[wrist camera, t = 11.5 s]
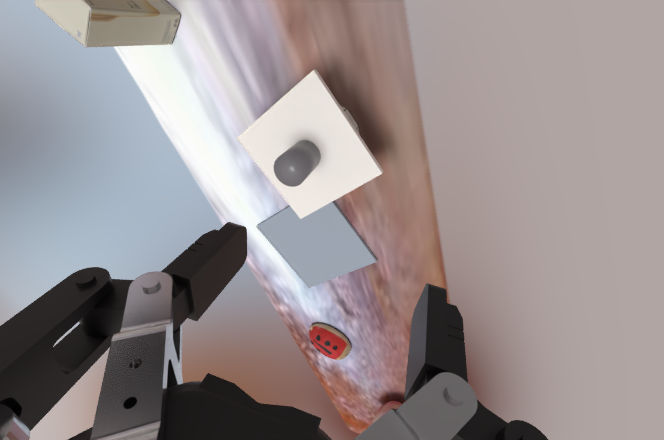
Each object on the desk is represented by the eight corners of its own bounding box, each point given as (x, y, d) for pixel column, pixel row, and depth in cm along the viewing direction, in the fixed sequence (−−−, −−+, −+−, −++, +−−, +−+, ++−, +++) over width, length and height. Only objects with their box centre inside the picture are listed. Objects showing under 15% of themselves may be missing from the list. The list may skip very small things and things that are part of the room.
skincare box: (182, 14, 39) (94, 9, 29) (172, 45, 41) (87, 50, 31) (139, -24, 38) (33, -42, 28) (132, 11, 40) (31, 5, 30)
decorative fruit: (402, 417, 71) (397, 468, 63) (371, 400, 71) (362, 448, 63) (426, 403, 66) (424, 456, 58) (393, 384, 66) (386, 434, 57)
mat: (258, 224, 53) (256, 226, 53) (322, 185, 46) (321, 187, 45) (309, 285, 57) (308, 288, 57) (377, 259, 50) (376, 261, 49)
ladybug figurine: (341, 355, 66) (336, 369, 63) (304, 329, 65) (297, 343, 62) (359, 342, 62) (355, 357, 59) (319, 314, 61) (314, 329, 58)
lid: (239, 136, 38) (211, 151, 34) (316, 69, 32) (294, 76, 27) (302, 216, 42) (285, 239, 37) (383, 170, 35) (374, 192, 31)
